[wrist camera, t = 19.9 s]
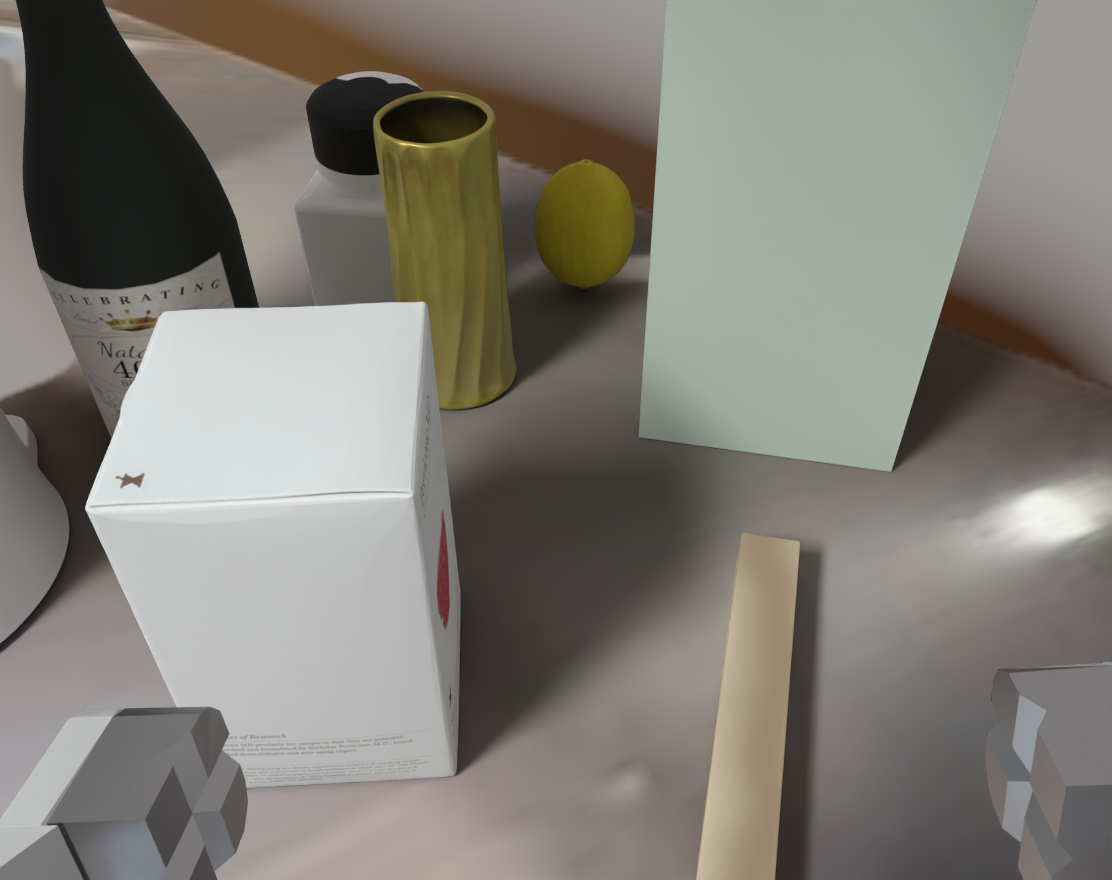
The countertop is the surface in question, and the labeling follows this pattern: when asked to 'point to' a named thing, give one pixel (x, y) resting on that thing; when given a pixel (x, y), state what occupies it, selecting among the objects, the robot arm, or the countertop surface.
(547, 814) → the countertop surface
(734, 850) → the birch bar
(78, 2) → the wine bottle
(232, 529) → the supplement box
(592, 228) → the lemon
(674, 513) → the countertop surface
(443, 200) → the vase
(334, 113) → the medicine bottle
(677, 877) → the countertop surface
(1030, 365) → the countertop surface
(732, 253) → the pedestal
